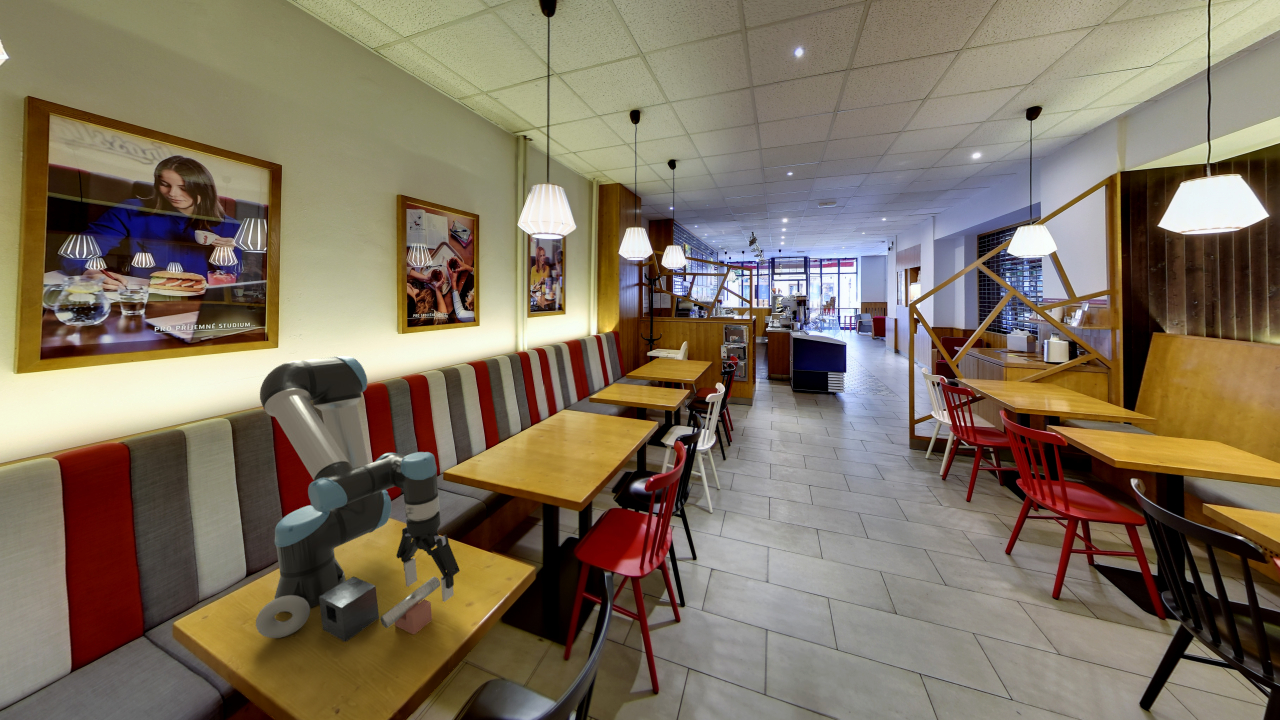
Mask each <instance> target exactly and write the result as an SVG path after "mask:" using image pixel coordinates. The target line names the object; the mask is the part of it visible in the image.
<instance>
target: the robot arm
mask: <svg viewBox="0 0 1280 720" xmlns="http://www.w3.org/2000/svg"><path fill="white" fill-rule="evenodd" d="M367 388H368V376H367V374H366V370H365V369H364V366H362V363H360V362H359V361H358V359H356V358H354V357H352V356H332V357H331V356H330V357H324V358H323V357H322V358H321V357H320V358H313V359H304V360H292V361H288V362H285V363H282V364H280V365H278V366H277V367H275V368H274V369H272V370H271V371H270V372H269V373H268V374H267V375H266V376H265V377H264V380H263V381H262V384H261V386H260V390H259V400H260V403H261V405H262V407H263V409H264V411H265V412H266V414H268V415H269V416H271V417H275V419H276V420H277V422H278V424H279V426H280V427H281V429H282V431H283V432H284V434H285V435H286V437H287V438H288V440H289V442H290V444H291V445H292V447H293V449H294V450H295V452H296V453H297V455H298V457H299V459H300V460H301V462H302V463H303V466H305V468H306V470H307V472H308V473H309V474H310V476H311V478H312V480H313V481H311V483H309V485H308V489H307V494H308V499H309V500H310V505H306V506H303V507H300V508H299V509H295V510H294V511H292V512H290V513H288V514H287V515H285V516H284V517H282V518H281V519H280V521H279V522H277V524H276V526H275V529H274V545H275V548H276V553H277V554H276V555H277V563H278V567H279V574H280V577H279V580H278V583H277V586H276V591H275V593H274V599H277V598H279V597H282V596H288V595H294V596H299V597H302V598H304V599H305V600H306V601H307V602H308V604H309V606H310V609H312V608H315V607H316V606H318V605H319V606H320V602H319V596H321V595H322V594H324V593H326V592H328V591H329V590H331V589H333V588H334V587H336V586H338V585H340V584H341V583H343V582H345V581H346V575H345V571H344V569H343V568H342V567H341V566H342V565H340V563H339V561H338V560H337V559H336V556H335V548H338V547H340V546H342V545H345V544H346V543H349V542H351V541H353V540H356V539H358V538H361V537H362V536H364V535H367V534H370V533H373V532H375V531H376V530H377V529H379V528H382V527H383V526H385V525H386V524H387V523H388V521H389V519H390V517H391V513H392V500H391V497H390V495H389V492H388V491H387V490H388V489H391V488H394V487H396V488H399V489H402V491H403V500H404V507H405V508H404V509H405V517H406V519H405V521H406V527H404V528H402V530H401V532H402V533H401V539H400V543H399V545H398V548H397V552H396V558H397V559H400V560H401V562H402V563H403V571H404V579H405V586H406V587H408V588H409V587H411V585H413V584H414V583H416V582H417V581H418V574H417V562H416V557H415V556H416V552H417V551H418V550H423V551H424V552H426V554H427V556H431V558H432V560H433V561H434V563H435V565H436V567H437V569H438V570H439V571H440V573H441V575H442V576H441V577H440V586H441V597H442V602H444V603H445V602H447V601H448V600H450V598H452V597H453V596H454V593H455V592H454V584H455V580H454V579H455V578H454V576H455V575H457V574H458V573H459V572H460V571H461V570H460V567H459V565H458V562H457V560H456V557H455V556H454V553H453V550H452V548H451V545H450V542H449V537H448V535H447V534H444V535H443V536H440V535H439V532H438V531H439V530H438V529H439V528H440V525H441V515H440V514H441V513H440V498H439V488H438V485H439V484H438V474H437V472H438V471H437V470H438V467H437V463H436V458H435V455H434V454H433V453H431V452H429V451H425V452H424V451H417V452H413V453H409V454H408V455H404V454H401V453H397V452H386V453H384V454H382V455H380V456H379V457H378V458H377V459H376V460H375V461H374V462H371V463H370V462H369V460H368V455H367V449H366V445H365V443H366V442H365V439H364V434H363V428H362V424H361V419H360V414H359V413H360V412H359V409H358V403H360V401H361V399H362V398H363V397H362V393H363V392H365V391H366V390H367ZM311 401H312V404H313V405H312V404H311ZM315 408H316V409H318V410H319V411H320V412H321V415H322V419H321V417H320V416H319V415H318V413H317V411H316V410H315ZM434 547H435V548H434ZM283 613H288V612H287V611H284V612H283Z"/></svg>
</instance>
